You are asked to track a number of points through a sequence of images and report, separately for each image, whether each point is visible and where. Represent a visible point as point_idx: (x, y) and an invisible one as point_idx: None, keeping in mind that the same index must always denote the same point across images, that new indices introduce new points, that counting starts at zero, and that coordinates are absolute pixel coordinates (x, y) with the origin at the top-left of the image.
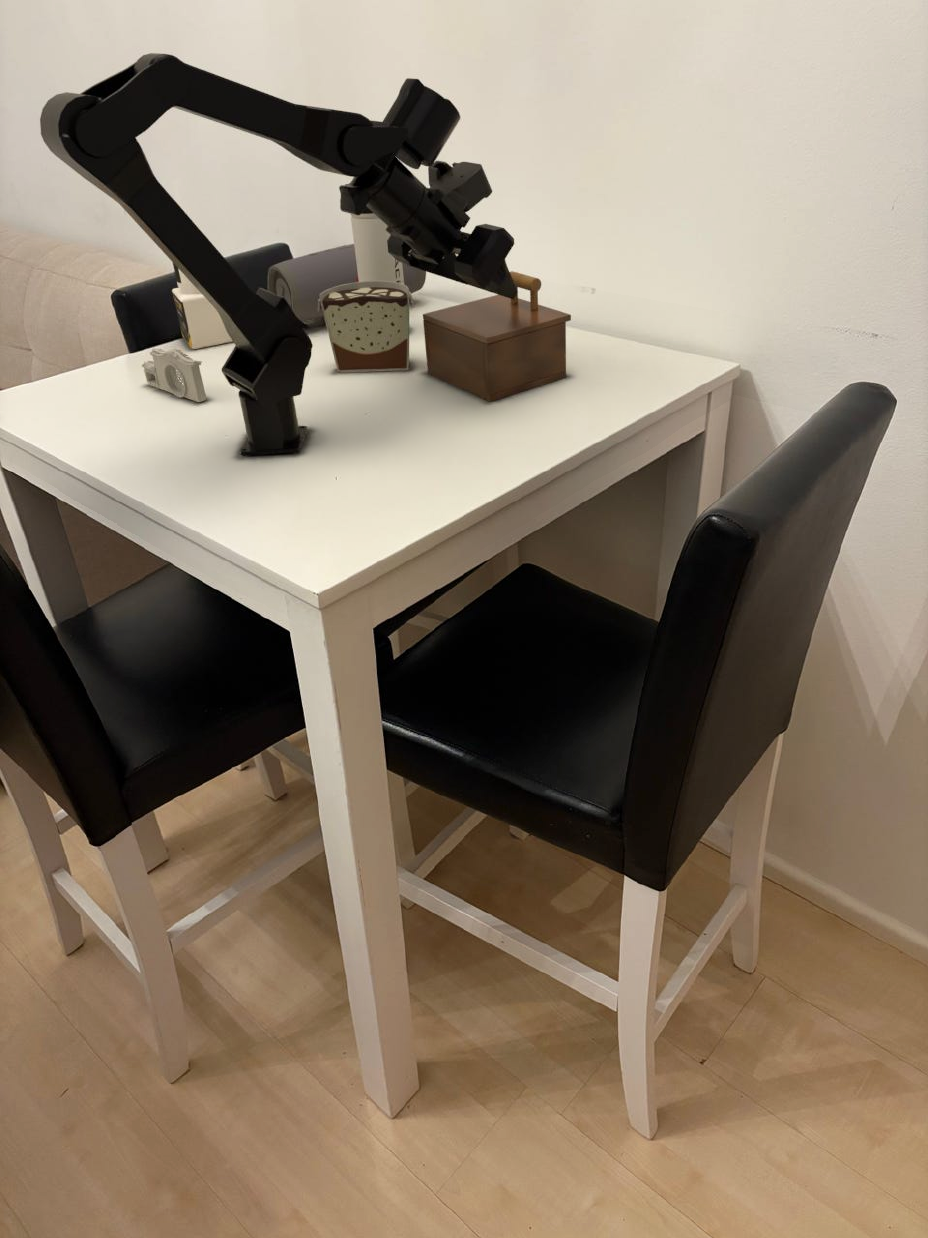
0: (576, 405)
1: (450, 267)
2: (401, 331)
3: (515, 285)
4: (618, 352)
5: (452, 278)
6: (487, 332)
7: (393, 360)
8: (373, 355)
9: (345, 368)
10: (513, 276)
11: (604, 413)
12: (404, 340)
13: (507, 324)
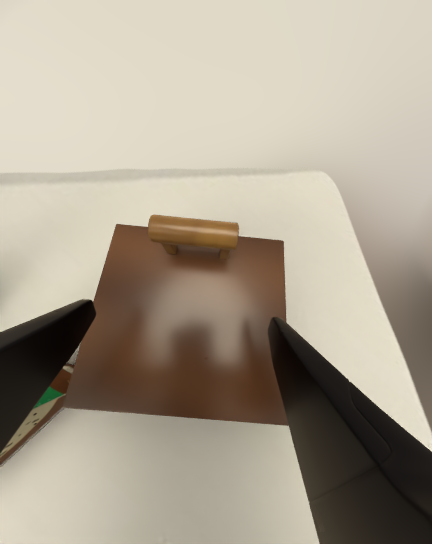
0: (323, 321)
1: (21, 383)
2: (40, 409)
3: (295, 331)
4: (242, 201)
5: (60, 368)
6: (263, 399)
7: None
8: (30, 431)
9: (6, 458)
10: (171, 236)
11: (355, 318)
12: (58, 398)
13: (251, 338)
